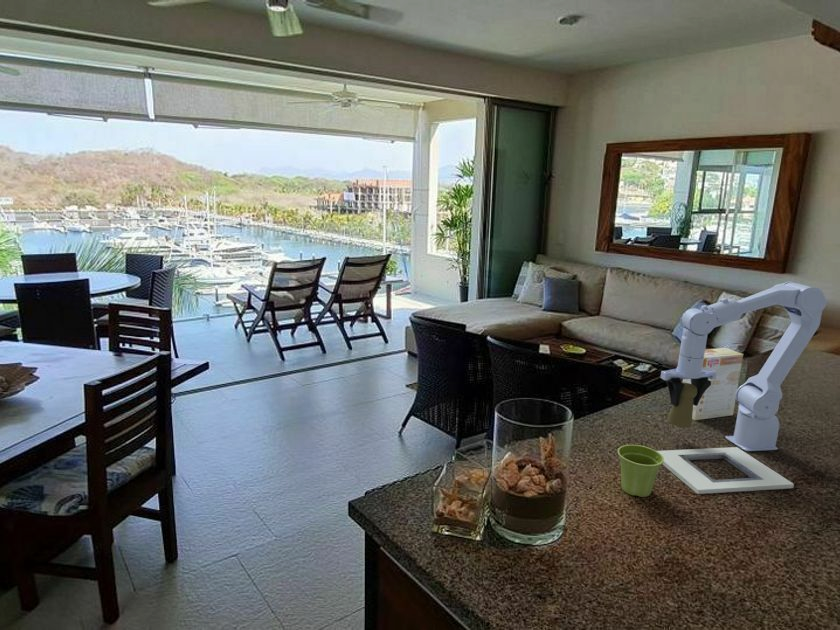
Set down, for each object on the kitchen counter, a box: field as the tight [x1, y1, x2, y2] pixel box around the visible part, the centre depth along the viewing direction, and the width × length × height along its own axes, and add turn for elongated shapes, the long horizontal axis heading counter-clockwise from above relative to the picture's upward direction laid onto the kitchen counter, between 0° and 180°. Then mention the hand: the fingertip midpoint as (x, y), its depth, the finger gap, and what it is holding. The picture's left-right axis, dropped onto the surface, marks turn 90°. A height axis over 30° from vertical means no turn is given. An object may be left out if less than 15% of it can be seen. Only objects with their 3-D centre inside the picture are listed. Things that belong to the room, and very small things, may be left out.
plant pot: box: [617, 444, 664, 498], centre depth 118 cm, size 9×9×9 cm
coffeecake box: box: [682, 347, 744, 421], centre depth 161 cm, size 15×7×20 cm, turn 108°
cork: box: [666, 381, 697, 429], centre depth 142 cm, size 6×6×11 cm
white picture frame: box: [656, 446, 795, 495], centre depth 129 cm, size 24×18×1 cm
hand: (684, 404), depth 142 cm, fingers closed on cork, 5 cm apart
